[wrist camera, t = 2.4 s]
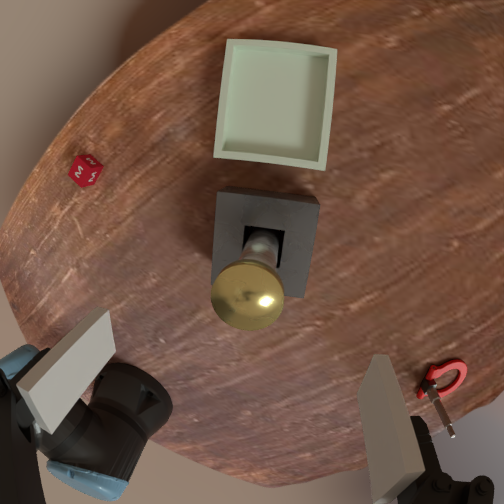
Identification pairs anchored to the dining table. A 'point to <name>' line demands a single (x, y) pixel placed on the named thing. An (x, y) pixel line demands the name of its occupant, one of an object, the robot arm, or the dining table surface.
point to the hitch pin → (251, 284)
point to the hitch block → (267, 216)
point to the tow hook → (434, 395)
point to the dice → (85, 170)
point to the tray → (276, 103)
